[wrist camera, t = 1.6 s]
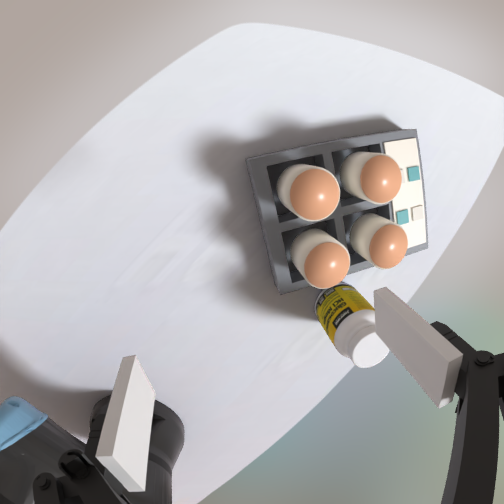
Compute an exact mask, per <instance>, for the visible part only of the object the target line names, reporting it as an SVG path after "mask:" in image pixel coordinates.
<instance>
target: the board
mask: <svg viewBox="0 0 504 504" xmlns="http://www.w3.org/2000/svg"><path fill="white" fill-rule="evenodd" d="M367 145H368V149H369V152H372V153H383V154H387V155H389V156H391V157H392V158H393V159H394V160H395V161H396V162H397V163H398V165H399V167H400V170H401V175H402V182H401V187H400V190H399V192H398V194H397V195H396V196H395V198H394V199H393V200H391V201H390V202H388V203H385V204H374V203H371V202H368V201H366V200H363V199H361V198H358V197H351V198H347V199H343V200H340V199H339V203H338V205H337V207H336V209H335V210H334V212H333V213H332V214H331V215H329V216H328V217H327V218H325V219H323V220H320V221H306V220H303V219H301V218H299V217H298V216H297V215H295V214H294V213H293V212H291V213H287V214H283V215H279V216H277V211H276V207H275V202H274V198H273V193H272V189H271V184H270V180H269V176H268V171H267V167H266V166H269V165H273V164H278V163H282V162H287V161H291V160H296V159H300V158H305V157H310V156H314V159H315V164H316V166H317V167H321V168H324V169H326V170H328V171H329V172H331V173H332V174H333V175H334V177H335V178H336V174H335V169H334V163H333V158H332V153H331V152H334V151H340V150H345V149H350V148H356V147H361V146H367ZM246 163H247V167H248V171H249V175H250V179H251V184H252V188H253V192H254V196H255V200H256V204H257V209H258V213H259V217H260V221H261V226H262V230H263V234H264V238H265V243H266V247H267V251H268V256H269V260H270V264H271V269H272V273H273V277H274V282H275V285H276V287H277V289H278V291H279V293H280V295H282V294H285V293H289V292H292V291H296V290H299V289H303V288H306V287H309V286H311V285H310V284H309V283H308V282H307V281H306V280H305V279H304V277H303V276H302V274H301V273H300V272H299V270H295V271H292V272H289V267H288V262H287V258H286V253H285V248H284V243H283V239H282V234H281V232H284V231H288V230H292V229H295V228H299V227H303V226H307V225H310V224H314V223H318V222H322V221H326V223H327V229H328V234H329V235H331V236H332V237H333V238H335V239H336V240H337V241H339V242H340V243H341V244H343V245H344V246H345V247H346V249H347V243H346V236H345V229H344V222H343V216H345V215H349V214H352V213H356V212H360V211H364V210H368V209H372V208H376V207H377V208H378V215H379V216H381V217H384V218H386V219H388V220H390V221H392V222H395V223H397V224H399V225H400V226H402V227H403V228H404V230H405V232H406V234H407V238H408V247H407V251H406V254H405V256H407V255H410V254H413V253H416V252H419V251H421V250H424V249H427V248H428V232H427V214H426V201H425V190H424V180H423V171H422V163H421V155H420V148H419V142H418V136H417V130H416V129H402V130H394V131H387V132H380V133H374V134H367V135H361V136H355V137H349V138H343V139H338V140H332V141H327V142H321V143H316V144H311V145H306V146H301V147H296V148H291V149H287V150H282V151H278V152H273V153H269V154H264V155H260V156H256V157H252V158H247V159H246ZM371 267H374V265H373V264H371V263H370V262H369V261H367V260H366V259H365V258H363V257H362V256H361V255H359V254H358V253H353V254H350V267H349V270H348V272H347V274H346V275H349V274H352V273H355V272H358V271H361V270H364V269H367V268H371Z"/></svg>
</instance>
